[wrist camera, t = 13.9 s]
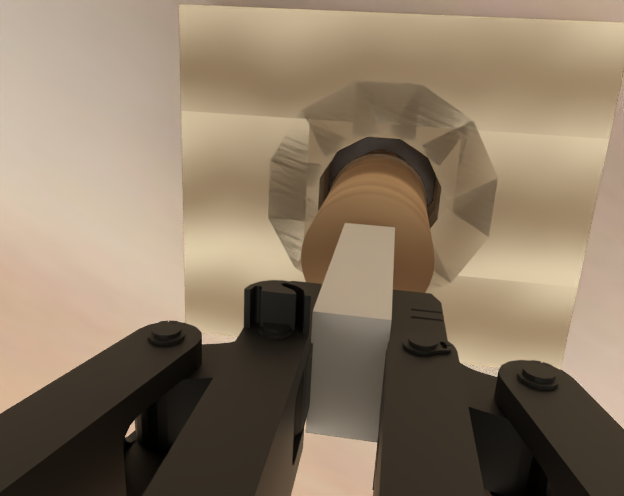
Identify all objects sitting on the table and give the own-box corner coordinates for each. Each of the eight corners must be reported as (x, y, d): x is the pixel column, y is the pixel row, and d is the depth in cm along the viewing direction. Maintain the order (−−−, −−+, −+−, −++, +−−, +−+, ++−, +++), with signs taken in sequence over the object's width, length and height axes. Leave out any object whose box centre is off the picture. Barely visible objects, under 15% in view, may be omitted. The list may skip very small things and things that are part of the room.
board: (208, 12, 29) (179, 4, 25) (600, 29, 26) (633, 22, 23) (209, 301, 34) (185, 331, 30) (540, 337, 31) (559, 374, 28)
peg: (342, 137, 30) (300, 186, 17) (427, 143, 29) (446, 199, 17) (337, 218, 31) (294, 317, 19) (418, 226, 30) (429, 332, 18)
